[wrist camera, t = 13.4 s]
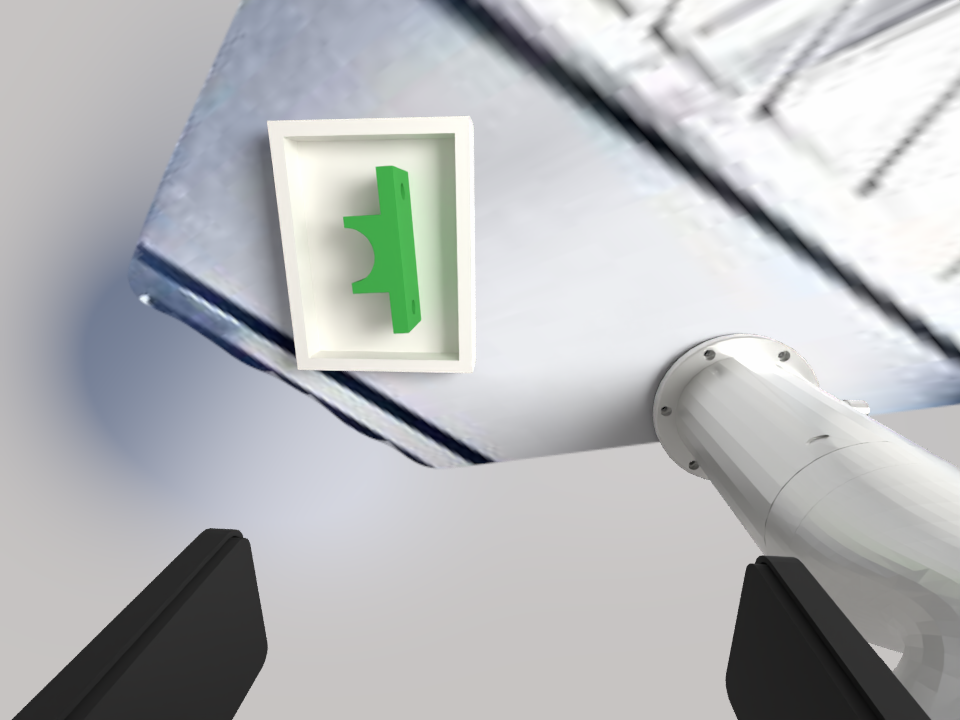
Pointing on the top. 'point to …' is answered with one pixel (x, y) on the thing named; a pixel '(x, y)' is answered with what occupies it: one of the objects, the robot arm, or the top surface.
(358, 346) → the tray
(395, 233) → the pipe clamp
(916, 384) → the top surface
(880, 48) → the top surface
